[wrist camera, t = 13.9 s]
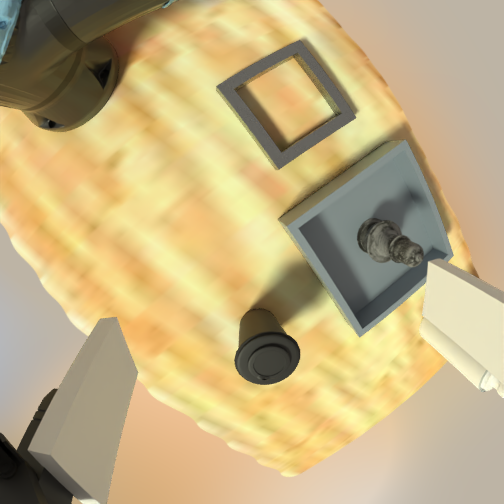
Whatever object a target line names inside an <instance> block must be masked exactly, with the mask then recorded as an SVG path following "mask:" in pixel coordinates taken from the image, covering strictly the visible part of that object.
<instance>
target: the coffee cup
mask: <svg viewBox="0 0 504 504" xmlns="http://www.w3.org/2000/svg"><path fill="white" fill-rule="evenodd" d="M299 360H300V348H299V346H298V344H297V342H296V341H295V340H294V339H293V338H292V337H291V336H289V335H287V334H286V332H285V331H284V329H283V328H282V327H281V325H280V324H279V322H278V321H277V320H276V318H275V317H274V315H273V314H272V313H271V312H270V311H267V310H265V309H253V310H251V311H249V312H247V313H246V314H245V315H244V316H243V317H242V319H241V322H240V330H239V348H238V350H237V351H236V355H235V360H234V361H235V367H236V369H237V371H238V372H239V374H240V375H241V376H242V377H243V378H244V379H246V380H248V381H250V382H252V383H255V384H260V385H268V384H274V383H277V382H280V381H282V380H284V379H285V378H287V377H288V376H289V375H291V374H292V373H293V371H294V370H295V369H296V367H297V365H298V363H299Z"/></svg>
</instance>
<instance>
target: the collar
mask: <svg viewBox="0 0 504 504" xmlns="http://www.w3.org/2000/svg"><path fill="white" fill-rule="evenodd" d="M292 58H295V60H296V61H297V62H298V64H299V65H300V66H301V67H302V69H303V70H304V71H305V73H306V74H307V75H308V76H309V78H310V79H311V80H312V82H313V83H314V85H315V86H316V87H317V89H318V90H319V91H320V93H321V94H322V96H323V97H324V98H325V100H326V101H327V103H328V104H329V106H330V107H331V109H332V110H333V112H334V113H335V114H336V116H335V117H334V118H332V119H330V120H329V121H327V122H326V123H324V124H323V125H321V126H319V127H318V128H316V129H315V130H313V131H312V132H310V133H309V134H307V135H306V136H304V137H303V138H301V139H300V140H298V141H297V142H295V143H294V144H292V145H291V146H289V147H288V148H286V149H285V150H283V151H282V152H281V151H280V150H279V149H278V147H277V146H276V144H275V143H274V142H273V140H272V139H271V137H270V136H269V135H268V133H267V132H266V131H265V129H264V128H263V126H262V125H261V124H260V122H259V121H258V120H257V118H256V117H255V116H254V114H253V113H252V112H251V110H250V109H249V108H248V107H247V105H246V104H245V103H244V101H243V100H242V99H241V97H240V96H239V95H238V94H237V92H236V91H237V90H238V89H240V88H241V87H243V86H245V85H246V84H248V83H250V82H251V81H253V80H255V79H256V78H258V77H260V76H261V75H263V74H265V73H267V72H268V71H270V70H272V69H274V68H276V67H277V66H279V65H281V64H283V63H285V62H287V61H289V60H290V59H292ZM216 91H217V92H218V93H219V95H220V96H221V97H222V98H223V100H224V101H225V102H226V104H227V105H228V106H229V107H230V109H231V110H232V111H233V113H234V114H235V115H236V117H237V118H238V119H239V120H240V122H241V123H242V124H243V126H244V127H245V128H246V130H247V131H248V132H249V134H250V135H251V136H252V138H253V139H254V141H255V142H256V143H257V145H258V146H259V147H260V149H261V150H262V152H263V153H264V154H265V156H266V157H267V158H268V160H269V161H270V163H271V164H272V166H273V167H274V168H275V170H279V169H280V168H282V167H283V166H285V165H286V164H288V163H289V162H291V161H292V160H293V159H295V158H296V157H298V156H299V155H301V154H302V153H304V152H305V151H307V150H308V149H310V148H311V147H313V146H314V145H316V144H317V143H319V142H320V141H322V140H323V139H325V138H326V137H328V136H329V135H331V134H332V133H334V132H335V131H337V130H338V129H340V128H341V127H343V126H345V125H346V124H348V123H349V122H351V121H352V120H354V119H355V118H356V116H355V115H354V113H353V112H352V110H351V109H350V107H349V106H348V104H347V103H346V101H345V100H344V98H343V97H342V95H341V94H340V92H339V91H338V89H337V88H336V87H335V85H334V84H333V82H332V81H331V80H330V78H329V77H328V75H327V74H326V73H325V71H324V70H323V69H322V67H321V66H320V65H319V63H318V62H317V61H316V60H315V58H314V57H313V56H312V55H311V53H310V52H309V51H308V50H307V48H306V47H305V46H304V45H303V43H302V42H301V41H300V40H299V41H296V42H294V43H292V44H290V45H288V46H286V47H284V48H282V49H280V50H278V51H276V52H275V53H273V54H271V55H269V56H267V57H265V58H263V59H261V60H260V61H258V62H256V63H254V64H253V65H251V66H249V67H247V68H246V69H244V70H242V71H240V72H239V73H237V74H235V75H234V76H232V77H230V78H229V79H227V80H226V81H224V82H222V83H221V84H219V85H218V86H216Z"/></svg>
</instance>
